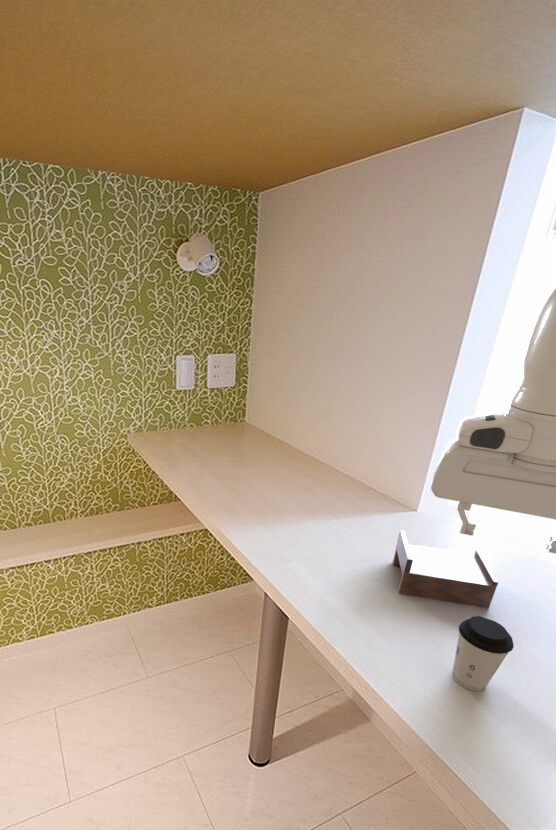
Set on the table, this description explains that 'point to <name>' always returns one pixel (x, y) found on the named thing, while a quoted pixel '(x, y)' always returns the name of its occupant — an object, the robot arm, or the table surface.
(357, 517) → the table surface
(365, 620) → the table surface
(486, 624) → the coffee cup
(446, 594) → the stand
